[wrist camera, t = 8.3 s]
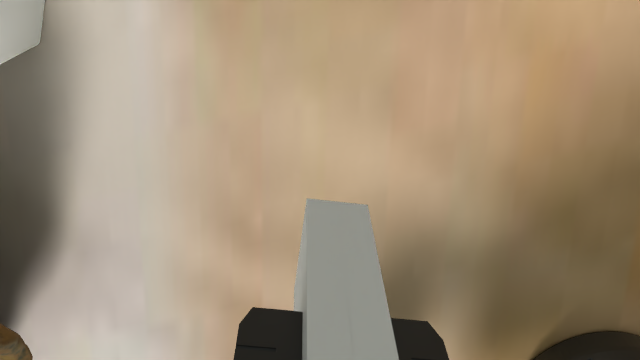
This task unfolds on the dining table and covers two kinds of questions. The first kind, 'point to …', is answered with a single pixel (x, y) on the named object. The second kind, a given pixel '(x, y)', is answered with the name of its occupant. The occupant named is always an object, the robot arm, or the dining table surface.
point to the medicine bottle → (19, 26)
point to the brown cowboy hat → (12, 346)
